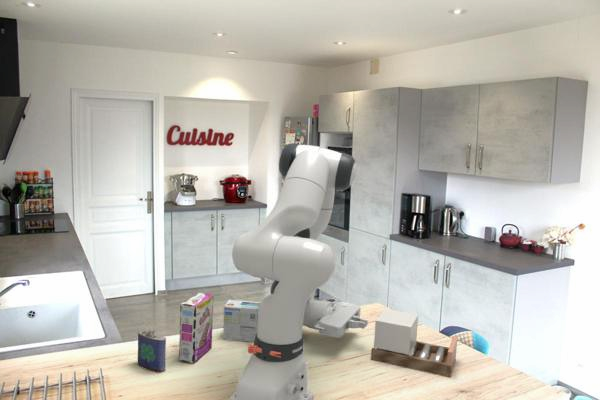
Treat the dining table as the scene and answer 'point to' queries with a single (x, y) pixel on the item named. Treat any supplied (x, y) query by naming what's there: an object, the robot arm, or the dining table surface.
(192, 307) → the candy bar box
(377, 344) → the off-white cardboard box
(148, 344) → the flask
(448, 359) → the roller track
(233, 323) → the light bulb box
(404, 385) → the dining table surface
